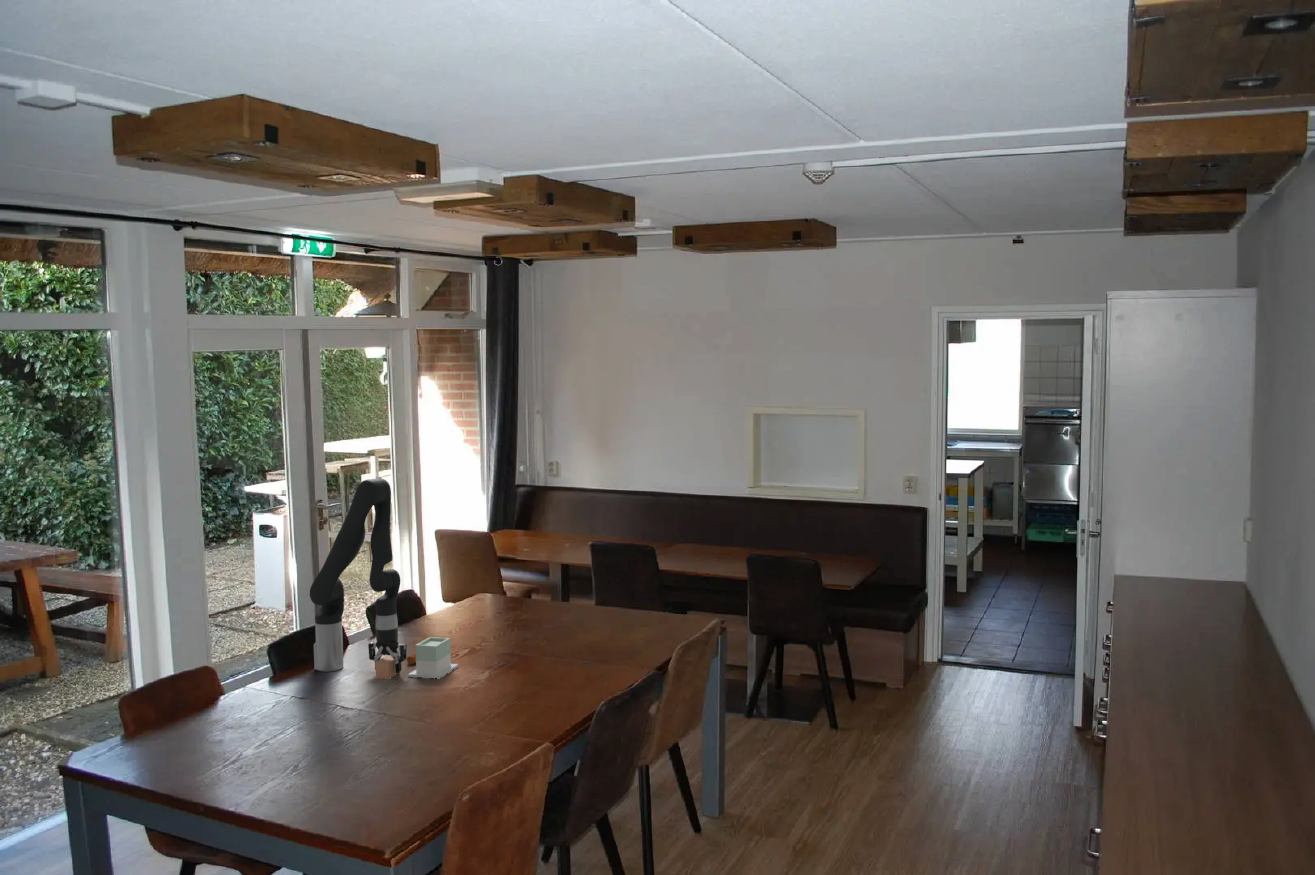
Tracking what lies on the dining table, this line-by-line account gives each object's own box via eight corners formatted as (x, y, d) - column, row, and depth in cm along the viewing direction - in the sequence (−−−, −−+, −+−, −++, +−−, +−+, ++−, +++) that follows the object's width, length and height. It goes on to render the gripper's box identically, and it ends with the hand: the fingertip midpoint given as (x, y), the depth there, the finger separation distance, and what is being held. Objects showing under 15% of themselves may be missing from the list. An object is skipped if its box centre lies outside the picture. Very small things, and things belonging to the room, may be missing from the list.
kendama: (402, 653, 387) (435, 636, 404) (405, 669, 387) (439, 651, 405) (414, 652, 384) (448, 635, 402) (418, 668, 384) (451, 650, 402)
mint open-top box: (439, 679, 367) (438, 648, 366) (408, 676, 370) (407, 646, 369) (458, 667, 382) (457, 637, 381) (428, 664, 385) (427, 635, 384)
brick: (388, 679, 368) (388, 662, 367) (375, 678, 369) (375, 661, 369) (399, 673, 376) (399, 656, 375) (387, 672, 377) (386, 655, 376)
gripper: (410, 624, 373) (411, 670, 374) (373, 622, 377) (375, 668, 378) (399, 630, 366) (401, 676, 367) (362, 628, 369) (364, 674, 371)
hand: (388, 672), depth 372 cm, fingers open, 7 cm apart
